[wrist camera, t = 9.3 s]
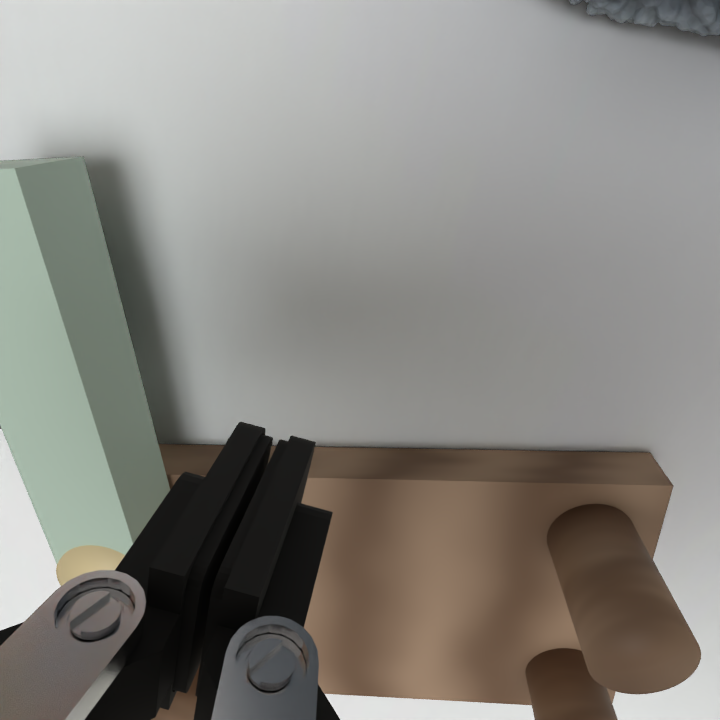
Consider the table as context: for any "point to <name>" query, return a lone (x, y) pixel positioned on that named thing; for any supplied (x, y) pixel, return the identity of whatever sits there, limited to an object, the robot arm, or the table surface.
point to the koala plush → (661, 13)
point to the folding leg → (71, 371)
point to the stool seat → (486, 577)
